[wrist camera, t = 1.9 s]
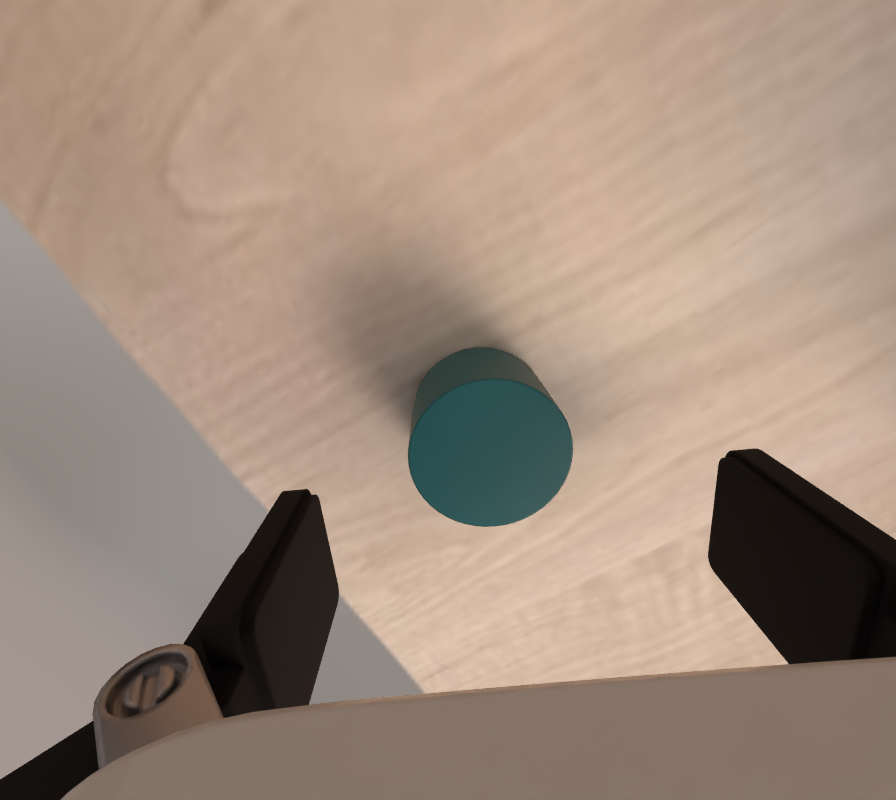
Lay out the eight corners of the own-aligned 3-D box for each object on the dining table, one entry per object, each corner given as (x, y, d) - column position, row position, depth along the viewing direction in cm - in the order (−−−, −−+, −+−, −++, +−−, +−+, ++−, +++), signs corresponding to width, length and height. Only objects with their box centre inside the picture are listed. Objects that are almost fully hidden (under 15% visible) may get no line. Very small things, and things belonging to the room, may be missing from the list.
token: (405, 354, 16) (397, 387, 12) (543, 340, 16) (573, 370, 12) (421, 476, 17) (418, 534, 14) (546, 463, 17) (573, 519, 14)
